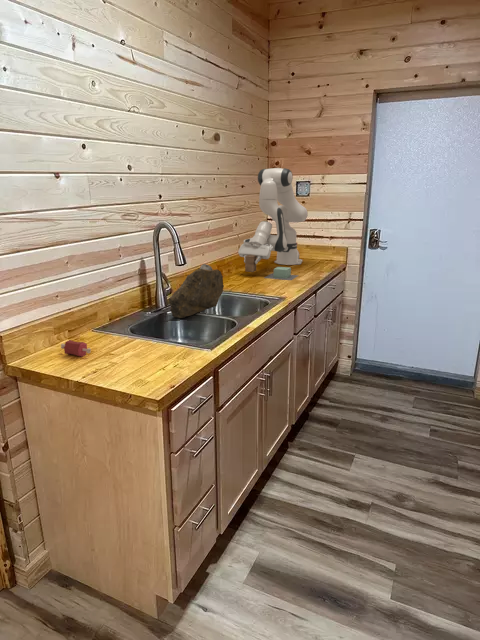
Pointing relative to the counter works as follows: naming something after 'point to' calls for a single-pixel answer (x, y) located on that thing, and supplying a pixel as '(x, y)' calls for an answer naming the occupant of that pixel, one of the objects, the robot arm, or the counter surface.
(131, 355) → the counter surface
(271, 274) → the mat
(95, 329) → the counter surface
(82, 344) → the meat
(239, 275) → the counter surface
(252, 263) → the walnut block
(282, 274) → the sage brick
